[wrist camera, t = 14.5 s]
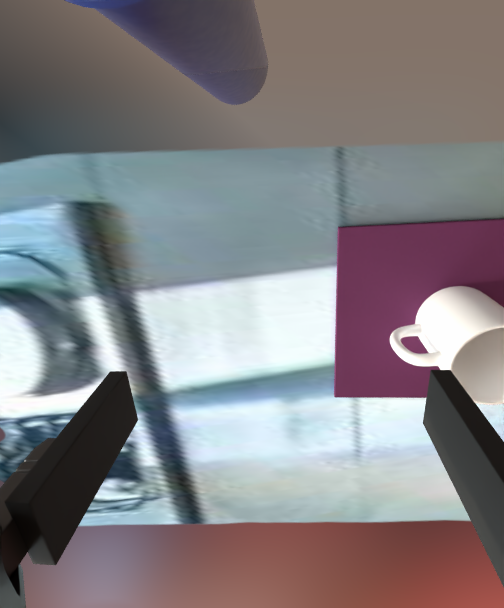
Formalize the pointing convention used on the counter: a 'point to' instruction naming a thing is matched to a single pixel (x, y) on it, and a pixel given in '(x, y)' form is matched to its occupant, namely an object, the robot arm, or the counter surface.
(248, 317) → the counter surface
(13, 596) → the robot arm
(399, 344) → the cup
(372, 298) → the mat
